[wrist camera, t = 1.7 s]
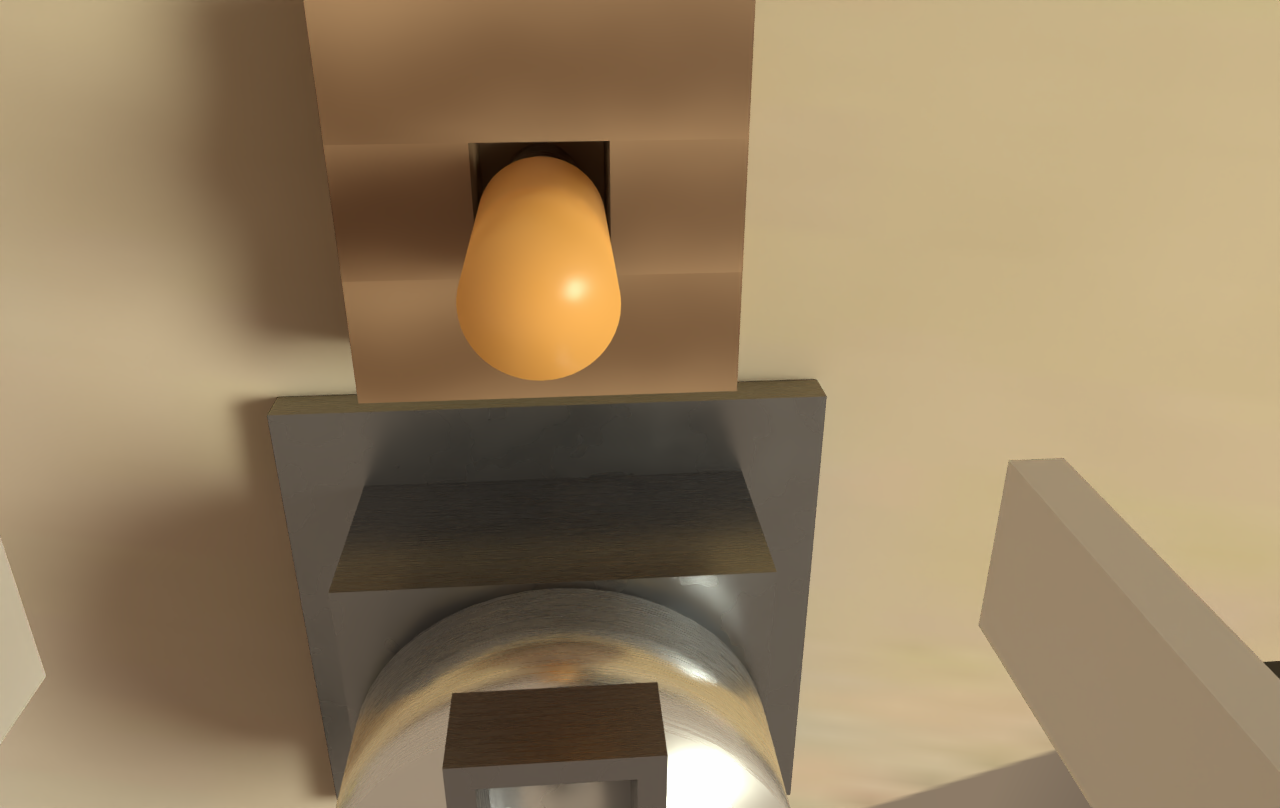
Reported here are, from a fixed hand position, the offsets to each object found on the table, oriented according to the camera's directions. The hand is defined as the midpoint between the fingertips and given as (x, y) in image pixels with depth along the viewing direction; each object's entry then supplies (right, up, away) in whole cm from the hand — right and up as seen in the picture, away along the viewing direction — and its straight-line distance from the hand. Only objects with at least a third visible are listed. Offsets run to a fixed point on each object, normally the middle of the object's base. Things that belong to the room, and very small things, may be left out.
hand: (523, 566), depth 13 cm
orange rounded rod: (-2, +9, +19) cm, 22 cm away
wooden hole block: (-2, +10, +20) cm, 23 cm away
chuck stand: (-2, -6, +28) cm, 29 cm away
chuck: (-1, -9, +20) cm, 22 cm away
